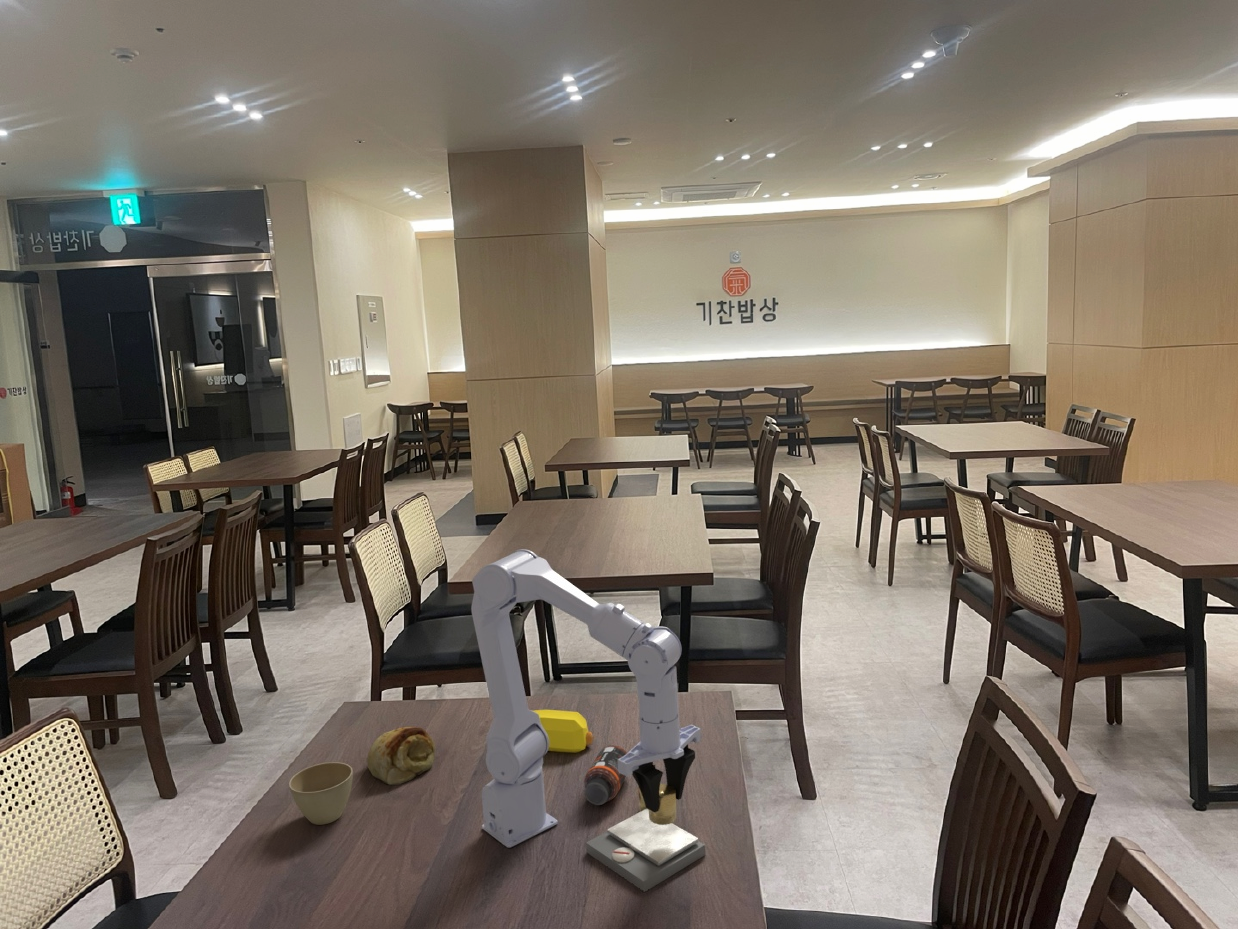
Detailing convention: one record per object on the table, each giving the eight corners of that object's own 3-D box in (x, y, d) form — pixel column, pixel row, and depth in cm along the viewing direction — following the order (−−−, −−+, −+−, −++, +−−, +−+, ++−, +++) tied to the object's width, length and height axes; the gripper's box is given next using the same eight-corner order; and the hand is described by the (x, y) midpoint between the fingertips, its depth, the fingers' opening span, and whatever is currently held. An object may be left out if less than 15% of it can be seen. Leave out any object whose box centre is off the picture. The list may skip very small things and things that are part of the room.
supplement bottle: (602, 739, 152) (583, 771, 141) (635, 750, 150) (617, 784, 140) (595, 768, 153) (575, 803, 142) (627, 780, 152) (609, 816, 141)
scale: (644, 892, 120) (643, 879, 120) (586, 852, 130) (585, 840, 130) (705, 855, 128) (704, 842, 128) (646, 820, 138) (645, 808, 138)
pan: (658, 868, 123) (658, 862, 123) (607, 835, 132) (607, 829, 132) (698, 844, 128) (698, 838, 128) (646, 814, 137) (646, 808, 137)
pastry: (416, 788, 152) (411, 746, 151) (352, 783, 155) (347, 741, 154) (450, 750, 166) (447, 710, 164) (391, 745, 169) (387, 706, 167)
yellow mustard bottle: (590, 757, 159) (597, 737, 167) (588, 723, 158) (595, 704, 166) (495, 756, 162) (506, 736, 170) (492, 722, 161) (503, 704, 169)
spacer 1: (652, 820, 138) (651, 797, 137) (634, 811, 141) (633, 788, 140) (669, 809, 141) (668, 786, 140) (650, 800, 143) (649, 778, 143)
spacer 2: (662, 828, 124) (661, 803, 124) (643, 816, 127) (642, 791, 127) (682, 817, 127) (681, 792, 126) (663, 805, 130) (662, 781, 129)
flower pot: (368, 803, 148) (364, 763, 147) (334, 837, 138) (329, 795, 137) (317, 797, 151) (312, 759, 150) (280, 830, 141) (275, 789, 140)
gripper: (639, 741, 117) (644, 834, 119) (714, 706, 126) (718, 793, 128) (605, 725, 122) (611, 814, 124) (680, 692, 131) (684, 776, 133)
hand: (663, 803), depth 126 cm, fingers closed on spacer 2, 4 cm apart
